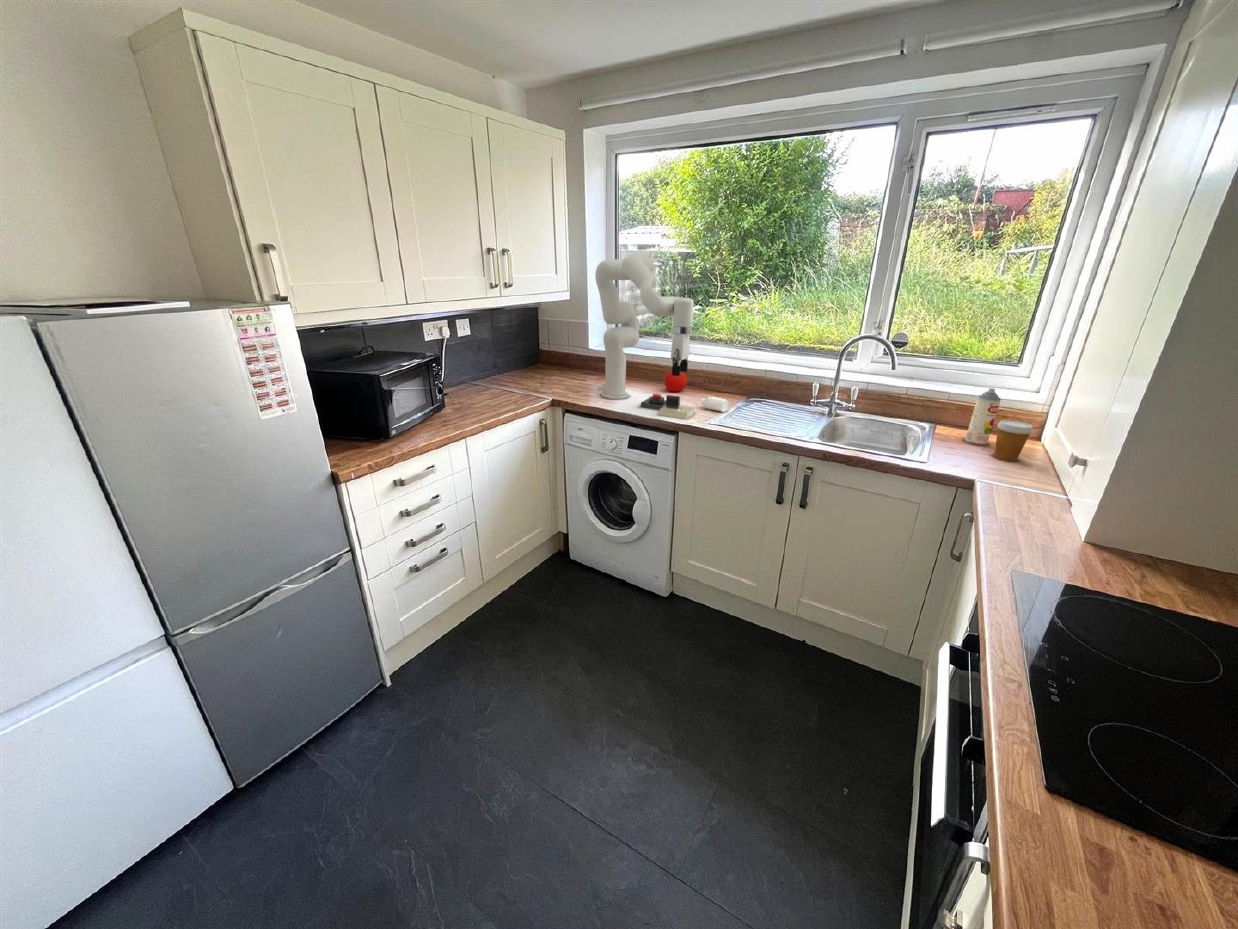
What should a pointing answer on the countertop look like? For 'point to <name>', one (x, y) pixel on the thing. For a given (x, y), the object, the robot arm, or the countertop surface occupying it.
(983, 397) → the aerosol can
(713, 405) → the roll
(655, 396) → the button
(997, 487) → the countertop surface
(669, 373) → the tomato
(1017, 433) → the disposable coffee cup
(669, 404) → the black rectangular block
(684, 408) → the cream flat block
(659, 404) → the block
